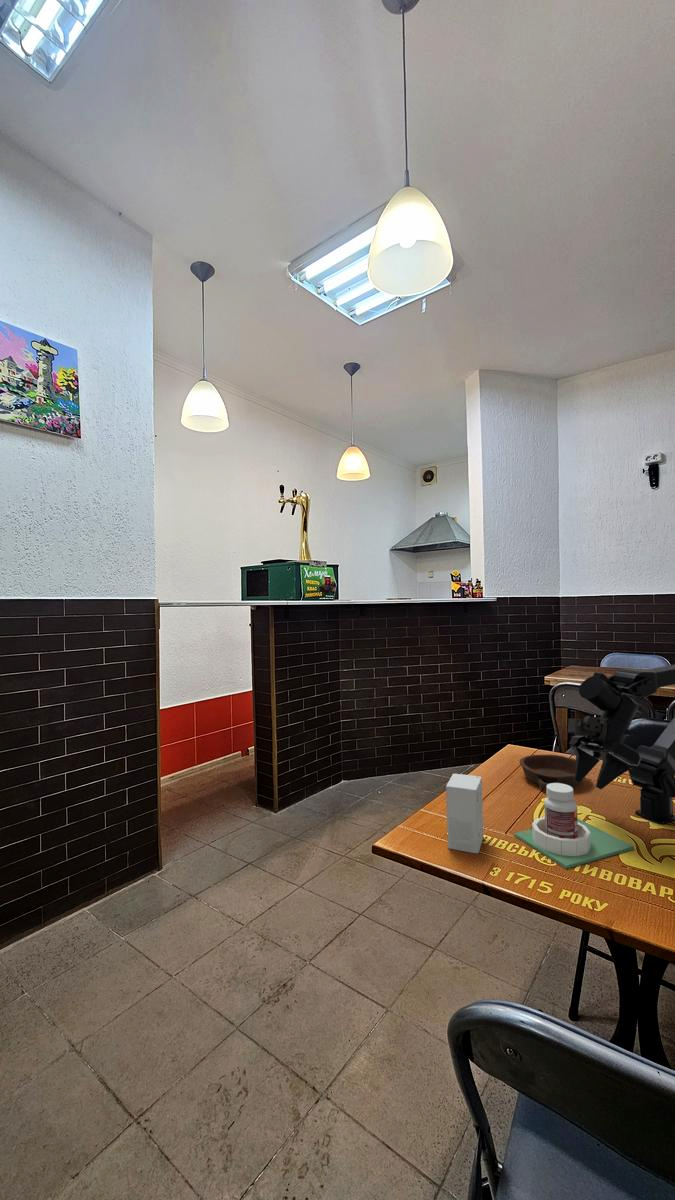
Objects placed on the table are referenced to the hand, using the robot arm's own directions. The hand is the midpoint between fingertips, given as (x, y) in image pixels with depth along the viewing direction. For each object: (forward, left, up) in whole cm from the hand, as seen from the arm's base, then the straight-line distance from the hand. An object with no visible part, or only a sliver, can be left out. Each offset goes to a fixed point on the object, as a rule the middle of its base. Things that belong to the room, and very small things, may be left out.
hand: (587, 784), depth 105 cm
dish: (-16, -26, -11) cm, 33 cm away
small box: (+27, -7, -11) cm, 30 cm away
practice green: (+7, +2, -10) cm, 12 cm away
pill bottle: (+9, +2, -10) cm, 14 cm away
